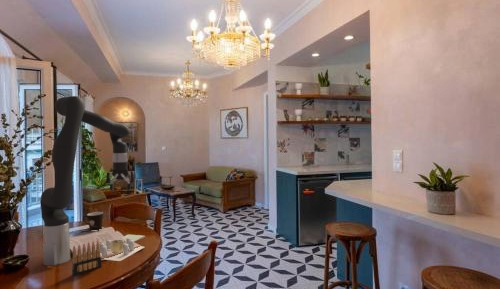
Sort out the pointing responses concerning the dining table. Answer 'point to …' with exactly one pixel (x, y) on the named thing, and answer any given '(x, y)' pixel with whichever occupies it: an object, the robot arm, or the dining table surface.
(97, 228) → the coffee mug
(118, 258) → the spacer plate
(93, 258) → the ammunition clip
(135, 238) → the rubber mat
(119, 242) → the brass nut
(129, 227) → the dining table surface
